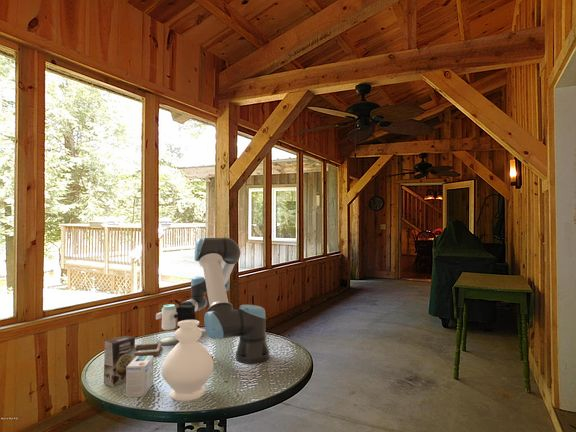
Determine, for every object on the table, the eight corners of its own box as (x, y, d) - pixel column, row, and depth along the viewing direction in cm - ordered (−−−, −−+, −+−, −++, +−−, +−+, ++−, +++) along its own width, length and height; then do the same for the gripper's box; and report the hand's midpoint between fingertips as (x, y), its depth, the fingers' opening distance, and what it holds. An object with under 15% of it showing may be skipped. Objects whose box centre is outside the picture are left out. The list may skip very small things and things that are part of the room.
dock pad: (180, 344, 185) (180, 342, 185) (154, 346, 182) (154, 344, 182) (181, 337, 197) (181, 335, 197) (157, 339, 194) (157, 337, 194)
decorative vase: (167, 383, 140) (168, 316, 140) (215, 381, 142) (215, 315, 142) (155, 406, 122) (156, 330, 123) (210, 403, 124) (211, 328, 125)
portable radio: (197, 353, 173) (197, 299, 174) (192, 357, 167) (193, 302, 168) (181, 352, 174) (181, 299, 174) (176, 357, 168) (176, 301, 168)
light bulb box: (135, 384, 139) (135, 355, 139) (153, 383, 140) (153, 354, 140) (125, 397, 128) (125, 366, 129) (145, 396, 129) (145, 365, 129)
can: (160, 330, 186) (160, 306, 186) (163, 326, 193) (163, 303, 193) (174, 330, 187) (174, 306, 187) (177, 326, 194) (177, 303, 194)
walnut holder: (158, 355, 169) (158, 351, 169) (129, 357, 167) (129, 353, 167) (161, 347, 181) (161, 343, 181) (134, 348, 179) (134, 344, 179)
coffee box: (113, 387, 136) (113, 343, 136) (103, 383, 139) (103, 340, 140) (135, 378, 144) (135, 337, 144) (125, 375, 147) (125, 334, 148)
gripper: (203, 315, 204) (180, 326, 182) (172, 312, 210) (146, 323, 188) (204, 301, 204) (180, 311, 183) (173, 299, 210) (146, 308, 188)
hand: (163, 317), depth 185 cm, fingers closed on can, 7 cm apart
